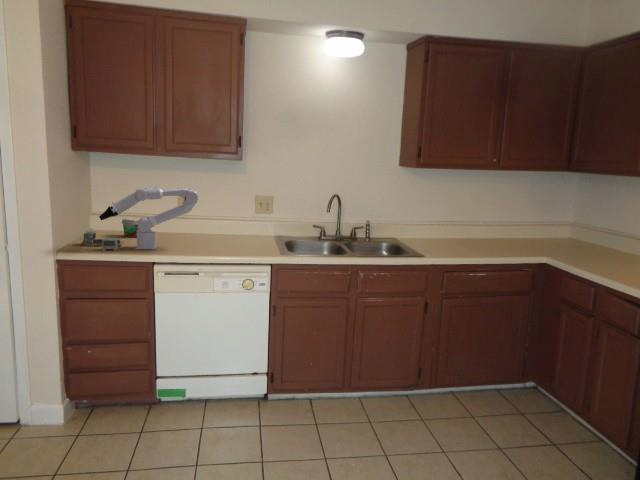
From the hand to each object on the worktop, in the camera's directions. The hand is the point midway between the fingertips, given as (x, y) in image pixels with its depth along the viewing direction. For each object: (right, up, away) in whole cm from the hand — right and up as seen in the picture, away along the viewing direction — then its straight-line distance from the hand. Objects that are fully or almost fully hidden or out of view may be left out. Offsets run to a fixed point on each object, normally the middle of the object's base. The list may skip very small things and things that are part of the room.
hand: (101, 218), depth 247 cm
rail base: (-4, -14, +11) cm, 18 cm away
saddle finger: (+4, -16, +2) cm, 17 cm away
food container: (+1, -10, +34) cm, 35 cm away
